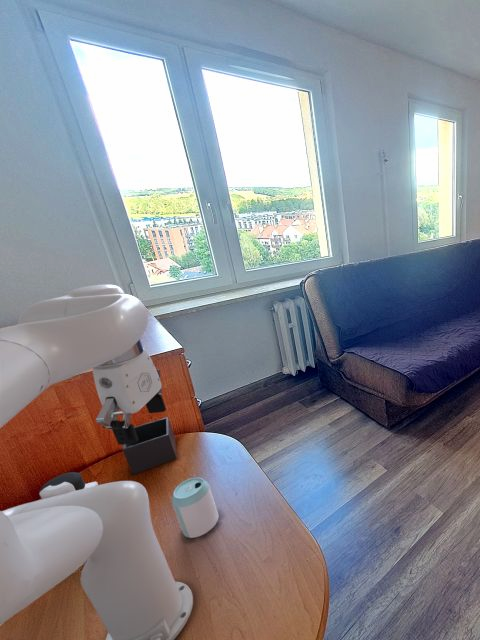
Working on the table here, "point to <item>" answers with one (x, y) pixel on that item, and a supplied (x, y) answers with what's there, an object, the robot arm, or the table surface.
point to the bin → (151, 446)
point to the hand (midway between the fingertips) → (144, 426)
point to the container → (64, 485)
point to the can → (195, 507)
